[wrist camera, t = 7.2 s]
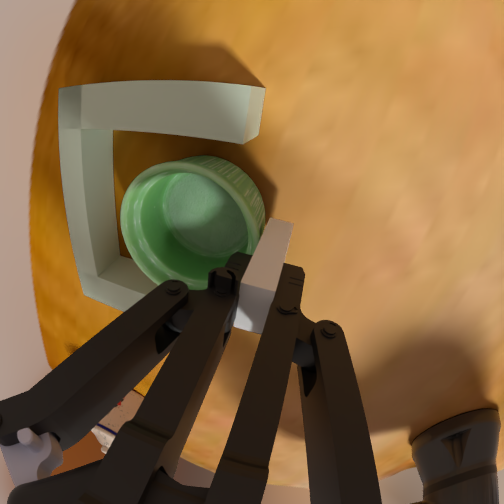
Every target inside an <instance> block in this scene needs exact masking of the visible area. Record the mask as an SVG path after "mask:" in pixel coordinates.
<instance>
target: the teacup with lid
mask: <svg viewBox="0 0 504 504" xmlns="http://www.w3.org/2000/svg"><path fill="white" fill-rule="evenodd" d="M144 398H145V397H143V396H142V395H140V394H138V393H137V392H135V391H133V390H131V391H130V392H129V393H128V394H127V395H126V396H125V397H124V398H123V399H122V400H121V401H120V402H119V403H118V404H117V405H116V406H115V407H114V408H113V409H112V410H111V411H110V412H109V413H108V414H107V415H106V416H105V417H104V418H103V419H102V420H101V421H100V422H99V423H98V424H97V425H96V426H95V427H94V428H93V429H92V430H91V431H92V432H93V433H94V434H95V435H96V437H97V439H98V441H99V442H100V444H102V445H103V446H102V448H101V451H102V452H104V453H105V454H106V453H107V451H108V449H109V447H110V445H111V444H112V442H113V440H114V438H115V436H116V434H117V433H118V431H119V429H120V428H121V426H122V425H123V424H124V423H125V422H126V421H129V420H131V419H132V418H133V417H134V416H135V414H136V412H137V410H138V408H139V407H140V405H141V403H142V401H143V399H144Z"/></svg>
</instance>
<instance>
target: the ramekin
mask: <svg viewBox="0 0 504 504" xmlns="http://www.w3.org/2000/svg"><path fill="white" fill-rule="evenodd" d="M120 223H121V230H122V235H123V238H124V241H125V244H126V246H127V249H128V251H129V253H130V255H131V256H132V258H133V260H134V261H135V263H136V264H137V265H138V267H139V268H140V269H141V270H142V271H143V273H145V274H146V276H147V277H149V278H150V279H151V280H152V281H153V282H154V283H156V284H157V285H158V286H159V285H160V284H161V283H163V282H164V281H166V280H171V279H175V280H180V281H183V282H184V283H186V284H187V286H188V288H189V289H190V290H204V289H207V287H208V273H209V272H210V271H211V270H212V269H214V268H217V267H225V264H226V263H227V261H228V259H229V258H230V256H231V255H232V254H234V253H236V252H237V251H238V252H241V253H245V254H249V255H253V254H254V252H255V250H256V247H257V245H258V243H259V241H260V239H261V236H262V234H263V231H264V226H265V208H264V203H263V200H262V197H261V194H260V192H259V190H258V188H257V187H256V185H255V184H254V182H253V181H252V179H251V178H250V177H249V176H248V175H247V174H246V173H245V172H244V171H243V170H242V169H240V168H239V167H237V166H236V165H234V164H233V163H231V162H229V161H227V160H225V159H222V158H219V157H215V156H207V155H201V156H192V157H188V158H185V159H181V160H178V161H170V162H165V163H161V164H157V165H155V166H152V167H150V168H148V169H146V170H145V171H143V172H142V173H141V174H139V175H138V176H137V177H136V178H135V179H134V180H133V181H132V183H131V184H130V185H129V187H128V189H127V191H126V193H125V195H124V197H123V201H122V205H121V212H120Z"/></svg>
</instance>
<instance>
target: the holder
mask: <svg viewBox="0 0 504 504" xmlns="http://www.w3.org/2000/svg"><path fill="white" fill-rule="evenodd" d="M265 90H266V88H262V87H256V86H248V85H240V84H230V83H219V82H205V81H184V80H140V81H119V82H106V83H95V84H86V85H78V86H71V87H64V88H59V99H58V130H59V153H60V167H61V177H62V187H63V195H64V202H65V209H66V216H67V222H68V227H69V233H70V238H71V243H72V248H73V253H74V257H75V262H76V266H77V270H78V274H79V278H80V282H81V285H82V289H83V293H84V295H86V296H88V297H90V298H92V299H95V300H97V301H99V302H101V303H104V304H106V305H109V306H111V307H113V308H116V309H118V310H121V311H123V312H125V311H126V310H128V309H129V308H130V307H131V306H133V305H134V304H135V303H137V302H138V301H139V300H140V299H142V298H143V297H144V296H146V295H147V294H148V293H149V292H151V291H152V290H153V289H155V288H156V287H157V286H158V285H157V284H156V283H154V282H153V281H152V280H151V279H150V278H149V277H147V276H146V274H145V273H143V271H142V270H141V269H140V268H139V267H138V265H137V264H136V263H135V261H134V260H133V259H130V258H126V257H123V256H120V249H119V240H118V231H117V221H116V209H115V195H114V175H113V130H124V131H139V132H152V133H163V134H173V135H182V136H190V137H198V138H205V139H212V140H219V141H226V142H232V143H238V144H244V143H246V142H248V141H249V140H251V139H253V138H254V137H256V136H258V134H259V128H260V121H261V115H262V108H263V102H264V96H265Z"/></svg>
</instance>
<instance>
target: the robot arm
mask: <svg viewBox="0 0 504 504" xmlns="http://www.w3.org/2000/svg"><path fill="white" fill-rule="evenodd" d="M293 225H294V223H290V222H286V221H282V220H278V219H274V218H270V219H269V221H268V223H267V225H266V228H265V230H264V232H263V234H262V236H261V239H260V241H259V243H258V245H257V247H256V250H255V252H254V254H253V255H249V254H245V253H241V252H238V251H237V252H236V253H234V254H232V255H231V256H230V258H229V259H228V261H227V263H226V264H225V267H217V268H214V269H212V270H211V271H210V272H209V273H208V287H207V289H204V290H190V289H189V288H188V286H187V284H186V283H184V282H183V281H180V280H175V279H171V280H166V281H164V282H163V283H161V284H160V285H159V286H157V287H156V288H155V289H153V290H152V291H151V292H149V293H148V294H147V295H146V296H144V297H143V298H142V299H140V300H139V301H138V302H137V303H135V304H134V305H133V306H131V307H130V308H129V309H128V310H126V311H125V312H124V313H122V314H121V315H120V316H119V317H117V318H116V319H115V320H114V321H112V322H111V323H110V324H109V325H107V326H106V327H105V328H104V329H102V330H101V331H100V332H99V333H97V334H96V335H95V336H94V337H92V338H91V339H90V340H89V341H87V342H86V343H85V344H84V345H82V346H81V347H80V348H79V349H78V350H76V351H75V352H74V353H73V354H71V355H70V356H69V357H68V358H67V359H65V360H64V361H63V362H62V363H61V364H59V365H58V366H57V367H56V368H55V369H53V370H52V371H51V372H50V373H49V374H47V375H46V376H45V377H44V378H43V379H42V380H40V381H39V382H38V383H37V384H36V385H34V386H33V387H32V388H31V389H30V390H29V391H26V392H24V393H21V394H18V395H16V396H13V397H10V398H8V399H5V400H2V401H0V447H1V450H2V453H3V456H4V459H5V462H6V465H7V467H8V470H9V473H10V475H11V478H12V480H13V483H14V485H15V488H14V489H13V490H12V492H11V493H10V495H9V497H8V501H7V504H261V501H262V497H263V494H264V490H265V486H266V483H267V479H268V474H269V468H268V466H269V461H270V457H271V453H272V449H273V445H274V441H275V436H276V432H277V428H278V424H279V419H280V415H281V411H282V406H283V401H284V397H285V392H286V387H287V383H288V378H289V373H290V368H291V363H292V362H294V363H296V364H297V365H298V366H297V369H298V377H299V386H300V395H301V404H302V413H303V423H304V432H305V443H306V453H307V464H308V476H309V488H310V501H311V504H382V502H381V495H380V489H379V482H378V477H377V471H376V466H375V460H374V455H373V450H372V445H371V440H370V435H369V431H368V426H367V422H366V417H365V413H364V408H363V404H362V400H361V396H360V392H359V388H358V384H357V380H356V376H355V372H354V368H353V364H352V361H351V357H350V353H349V349H348V346H347V342H346V339H345V335H344V332H343V330H342V328H341V327H340V326H339V325H338V324H337V323H335V322H333V321H329V320H321V321H319V322H317V323H315V322H313V321H311V320H309V319H308V318H306V317H305V316H304V315H303V313H302V312H301V309H300V303H301V297H302V291H303V285H304V278H305V273H304V271H303V268H302V267H298V266H294V265H290V264H286V263H284V261H285V257H286V254H287V250H288V246H289V242H290V238H291V234H292V229H293ZM233 323H234V326H233ZM232 326H233V327H236V328H240V329H243V330H247V331H250V332H254V333H258V334H261V338H260V342H259V345H258V348H257V351H256V354H255V358H254V361H253V364H252V367H251V370H250V374H249V377H248V380H247V383H246V386H245V389H244V392H243V395H242V398H241V401H240V404H239V407H238V410H237V413H236V416H235V419H234V422H233V425H232V428H231V431H230V434H229V437H228V440H227V443H226V446H225V449H224V451H223V454H222V457H221V459H220V462H219V464H218V467H217V470H216V473H215V475H214V478H213V481H212V484H211V486H210V488H202V487H193V486H185V485H182V484H180V483H178V482H177V481H175V480H174V479H173V477H174V474H175V472H176V469H177V465H178V460H179V457H180V455H181V452H182V450H183V448H184V445H185V443H186V441H187V438H188V436H189V433H190V431H191V429H192V426H193V424H194V422H195V419H196V417H197V414H198V412H199V410H200V407H201V405H202V403H203V400H204V398H205V395H206V393H207V391H208V388H209V386H210V383H211V381H212V378H213V376H214V374H215V371H216V369H217V366H218V364H219V362H220V359H221V357H222V354H223V352H224V349H225V347H226V344H227V342H228V340H229V337H230V334H231V328H232ZM169 352H170V353H169ZM168 353H169V355H168V357H167V358H166V360H165V362H164V364H163V365H162V367H161V369H160V371H159V373H158V374H157V376H156V378H155V380H154V381H153V383H152V385H151V387H150V389H149V390H148V392H147V394H146V396H145V398H144V399H143V401H142V403H141V405H140V407H139V408H138V410H137V412H136V414H135V416H134V417H133V418H132V419H131V420H129V421H126V422H125V423H124V424H123V425H122V426H121V428H120V429H119V431H118V433H117V434H116V436H115V438H114V440H113V442H112V444H111V445H110V447H109V449H108V451H107V453H106V455H105V456H104V458H103V459H101V460H98V461H95V462H92V463H89V464H87V465H84V466H81V467H78V468H75V469H72V470H69V471H66V472H64V473H60V474H57V475H54V476H50V474H51V473H52V471H53V470H54V469H55V468H56V467H58V466H60V465H61V464H62V463H63V452H62V451H64V450H66V449H68V448H70V447H71V446H73V445H74V444H76V443H77V442H79V441H80V440H81V439H82V438H83V437H84V436H85V435H86V434H87V433H88V432H89V431H91V430H92V429H93V428H94V427H95V426H96V425H97V424H98V423H99V422H100V421H101V420H102V419H103V418H104V417H105V416H106V415H107V414H108V413H109V412H110V411H111V410H112V409H113V408H114V407H115V406H116V405H117V404H118V403H119V402H120V401H121V400H122V399H123V398H124V397H125V396H126V395H127V394H128V393H129V392H130V391H131V390H132V389H133V388H134V387H135V386H136V385H137V384H138V383H139V382H140V381H141V380H142V379H143V378H144V377H145V376H146V375H147V374H148V373H149V372H150V371H151V370H152V369H153V368H154V367H155V366H156V365H157V364H158V363H159V362H160V361H161V360H162V359H163V358H164V357H165V356H166V355H167V354H168ZM500 428H501V422H500V418H499V413H498V411H496V410H494V409H481V410H476V411H472V412H468V413H465V414H462V415H459V416H456V417H454V418H451V419H449V420H446V421H444V422H442V423H440V424H437V425H435V426H434V427H432V428H430V429H428V430H426V431H425V432H423V433H422V434H420V435H419V436H418V437H417V438H416V439H415V440H414V441H413V443H412V458H413V460H414V462H415V464H416V467H417V470H418V472H419V475H420V478H421V481H422V483H423V501H421V502H416V503H411V504H499V492H498V479H497V478H498V477H497V467H496V456H497V450H498V442H499V432H500Z"/></svg>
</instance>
